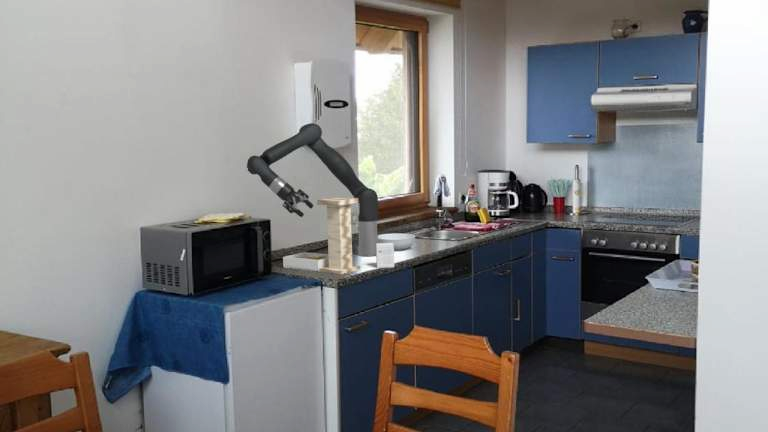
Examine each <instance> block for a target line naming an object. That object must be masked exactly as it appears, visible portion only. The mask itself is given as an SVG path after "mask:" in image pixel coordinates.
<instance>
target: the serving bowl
mask: <svg viewBox="0 0 768 432" xmlns="http://www.w3.org/2000/svg"><path fill="white" fill-rule="evenodd" d="M377 235H378V243H393V245H394V252H395V251H403V250H406V249H409V248H410V247H412V246H413V245H414V243H415V241H416V235H415V234H413V233H401V232H399V233H397V232H395V233H382V234H377Z"/></svg>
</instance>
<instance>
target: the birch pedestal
mask: <svg viewBox="0 0 768 432" xmlns="http://www.w3.org/2000/svg"><path fill="white" fill-rule="evenodd" d="M352 204H359V203H358V198H354V197H343V196H341V197H339V196H335V197H330V198H320V199H316V205H319V206H326V220H327V221H326V222H327V225H326V226H327V247H328V248H327V249H328V250H327V251H328V252H327V253H328V256H329V266H328V267H324V268H320V269H319V272H318V273H323V272H324V273H325V274H331V273H333V274H332V275H340V274H341V275H344V273H345V274H348V273H351V272H352V273H353V272H355V271H356V272H357V271H359V270H361V265H354V264H353V244H352V243H353V242H352V241H353V240H352V239H353V237H352Z"/></svg>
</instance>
